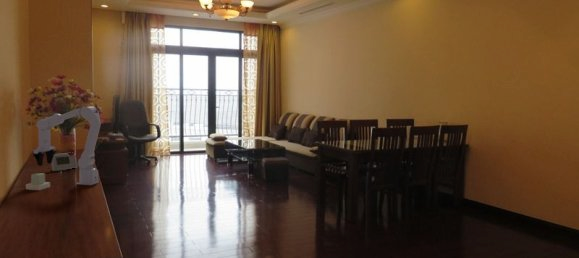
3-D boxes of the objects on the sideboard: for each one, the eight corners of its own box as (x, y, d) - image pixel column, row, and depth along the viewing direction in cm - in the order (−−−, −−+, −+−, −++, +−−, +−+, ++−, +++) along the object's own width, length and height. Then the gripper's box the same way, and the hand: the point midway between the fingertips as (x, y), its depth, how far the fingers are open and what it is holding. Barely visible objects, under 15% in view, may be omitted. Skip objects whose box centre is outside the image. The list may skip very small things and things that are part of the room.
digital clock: (51, 172, 267) (51, 155, 266) (48, 169, 274) (47, 153, 273) (79, 169, 278) (79, 153, 277) (75, 167, 285) (75, 151, 284)
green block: (45, 182, 229) (45, 173, 229) (38, 184, 225) (38, 175, 224) (37, 182, 230) (37, 173, 230) (31, 183, 226) (31, 174, 225)
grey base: (50, 187, 231) (50, 182, 231) (39, 191, 223) (39, 185, 223) (36, 186, 232) (36, 181, 232) (25, 190, 224) (25, 184, 224)
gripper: (46, 138, 246) (47, 161, 247) (28, 141, 231) (28, 166, 233) (58, 139, 245) (58, 162, 246) (40, 142, 230) (40, 167, 232)
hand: (44, 164), depth 239 cm, fingers open, 7 cm apart
